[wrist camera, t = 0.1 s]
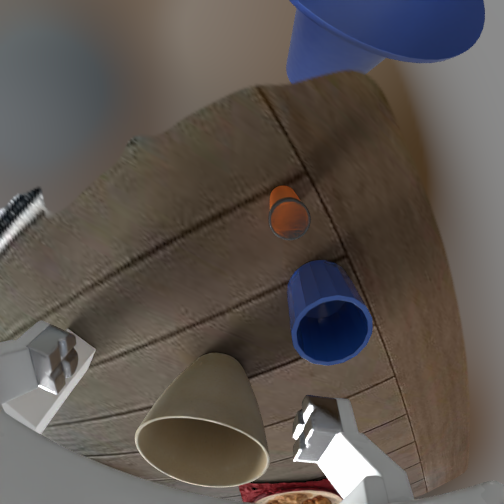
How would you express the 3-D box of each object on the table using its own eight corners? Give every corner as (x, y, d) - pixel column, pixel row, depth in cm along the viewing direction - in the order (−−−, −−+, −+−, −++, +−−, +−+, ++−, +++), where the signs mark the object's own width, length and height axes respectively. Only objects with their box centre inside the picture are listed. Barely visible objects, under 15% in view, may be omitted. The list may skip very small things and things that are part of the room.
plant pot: (173, 398, 45) (145, 475, 30) (167, 323, 41) (123, 402, 26) (265, 410, 45) (261, 493, 30) (277, 336, 40) (278, 426, 25)
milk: (67, 327, 43) (-14, 411, 22) (97, 349, 43) (24, 444, 22) (61, 349, 44) (-10, 430, 23) (88, 370, 45) (24, 459, 24)
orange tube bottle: (272, 181, 34) (273, 195, 23) (300, 188, 34) (315, 204, 23) (266, 209, 35) (264, 235, 24) (293, 215, 35) (304, 244, 24)
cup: (296, 253, 37) (304, 288, 27) (358, 267, 37) (384, 303, 27) (280, 311, 39) (282, 358, 30) (338, 322, 39) (355, 369, 30)
